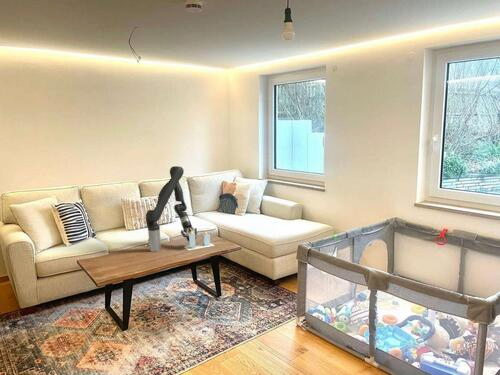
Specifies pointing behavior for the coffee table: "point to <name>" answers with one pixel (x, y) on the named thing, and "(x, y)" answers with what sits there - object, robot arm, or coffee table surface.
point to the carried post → (191, 239)
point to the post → (206, 239)
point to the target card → (197, 246)
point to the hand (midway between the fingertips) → (192, 240)
